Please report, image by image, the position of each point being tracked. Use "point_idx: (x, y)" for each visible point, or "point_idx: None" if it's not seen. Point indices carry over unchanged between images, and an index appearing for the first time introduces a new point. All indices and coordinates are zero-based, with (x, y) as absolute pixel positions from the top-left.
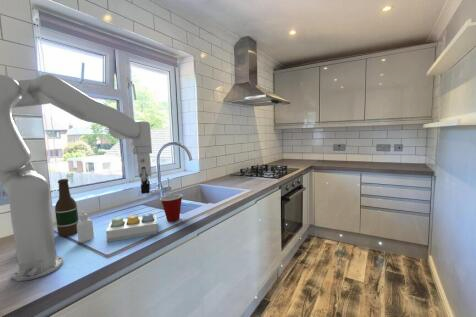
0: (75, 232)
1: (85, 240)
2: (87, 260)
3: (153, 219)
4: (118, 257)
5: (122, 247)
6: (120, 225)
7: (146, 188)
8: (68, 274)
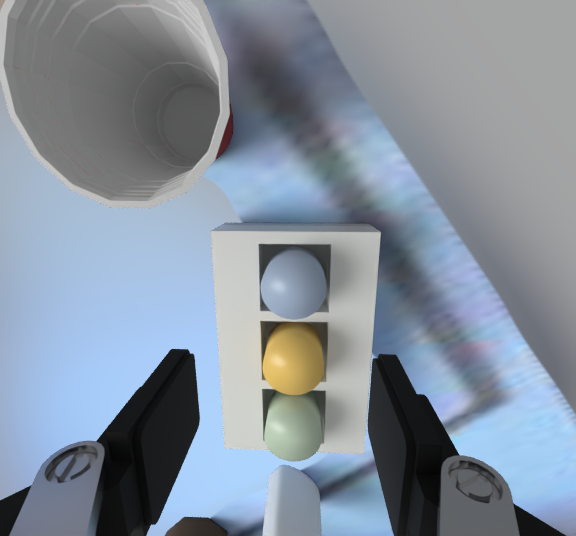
0: (213, 526)
1: (314, 486)
2: (485, 454)
3: (260, 245)
4: (525, 368)
5: (441, 361)
6: (315, 405)
7: (438, 426)
8: (552, 485)
